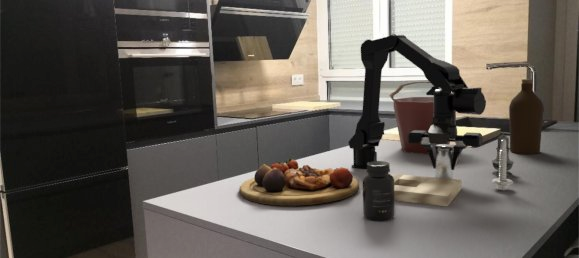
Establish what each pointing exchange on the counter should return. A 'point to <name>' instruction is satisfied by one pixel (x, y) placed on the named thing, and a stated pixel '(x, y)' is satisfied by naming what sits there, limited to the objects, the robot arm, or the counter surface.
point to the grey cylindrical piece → (443, 161)
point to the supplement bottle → (378, 192)
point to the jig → (425, 189)
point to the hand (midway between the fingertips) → (443, 169)
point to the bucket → (413, 117)
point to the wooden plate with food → (298, 185)
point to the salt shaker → (497, 161)
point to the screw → (502, 169)
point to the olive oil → (525, 120)
